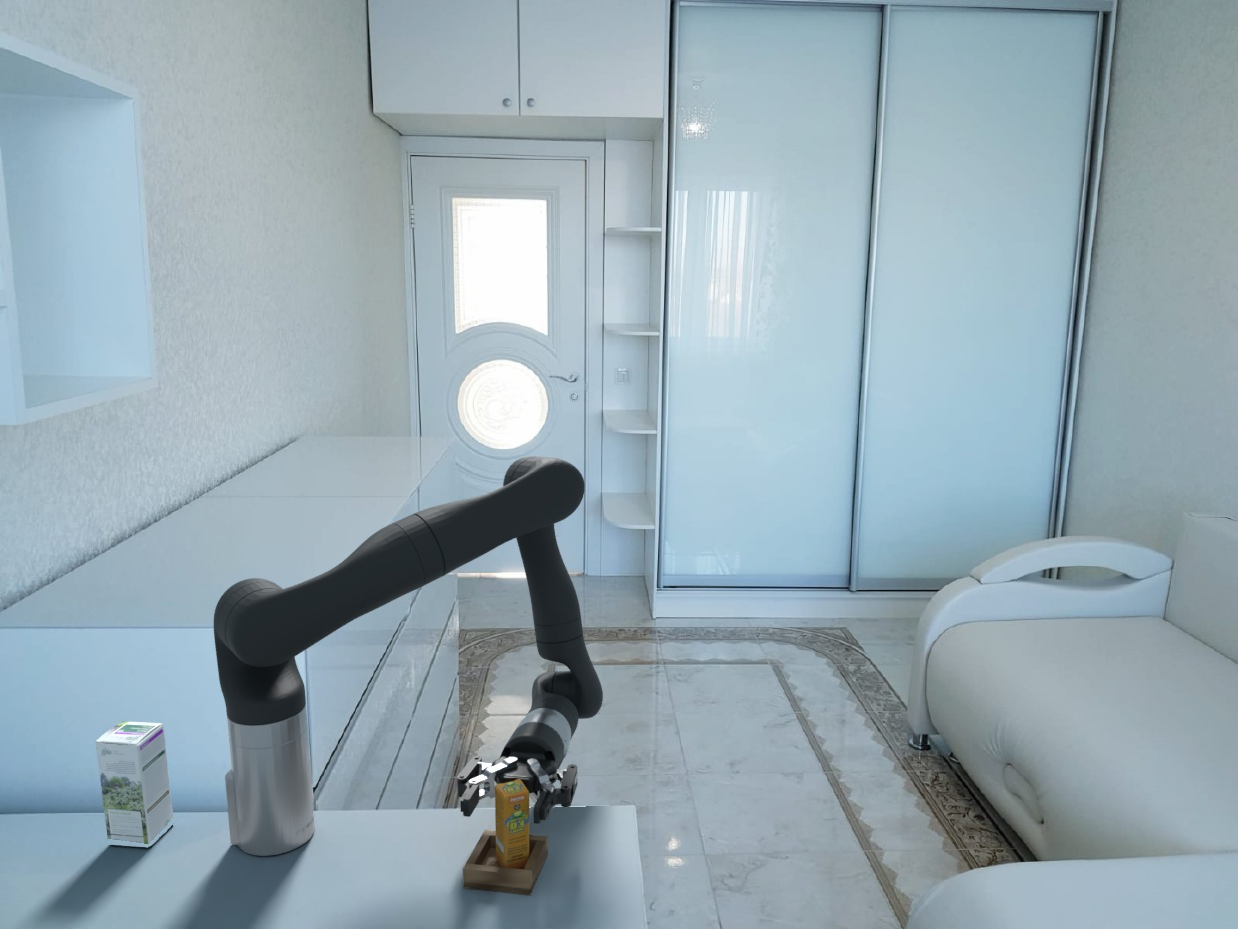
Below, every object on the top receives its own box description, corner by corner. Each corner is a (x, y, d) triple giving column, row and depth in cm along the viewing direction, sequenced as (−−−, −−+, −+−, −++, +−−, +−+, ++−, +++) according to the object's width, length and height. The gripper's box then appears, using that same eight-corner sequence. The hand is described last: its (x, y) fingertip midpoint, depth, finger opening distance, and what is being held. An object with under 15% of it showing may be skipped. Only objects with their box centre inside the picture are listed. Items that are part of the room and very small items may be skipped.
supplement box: (505, 875, 111) (502, 797, 109) (495, 859, 114) (492, 783, 112) (531, 867, 112) (529, 790, 110) (521, 852, 115) (519, 776, 113)
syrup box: (176, 824, 123) (165, 720, 120) (148, 851, 117) (137, 742, 114) (135, 822, 123) (123, 718, 121) (105, 848, 118) (93, 740, 115)
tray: (463, 888, 110) (462, 868, 109) (485, 848, 117) (484, 829, 117) (530, 895, 108) (529, 875, 108) (547, 854, 116) (547, 836, 115)
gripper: (485, 716, 126) (441, 778, 110) (590, 725, 123) (560, 789, 108) (487, 768, 127) (443, 836, 111) (590, 778, 125) (561, 849, 109)
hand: (500, 813), depth 110 cm, fingers open, 8 cm apart
